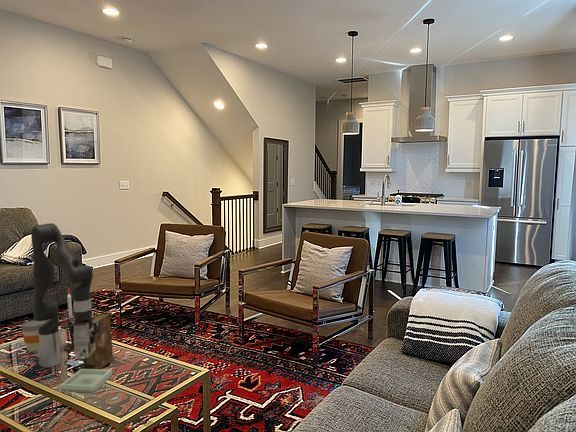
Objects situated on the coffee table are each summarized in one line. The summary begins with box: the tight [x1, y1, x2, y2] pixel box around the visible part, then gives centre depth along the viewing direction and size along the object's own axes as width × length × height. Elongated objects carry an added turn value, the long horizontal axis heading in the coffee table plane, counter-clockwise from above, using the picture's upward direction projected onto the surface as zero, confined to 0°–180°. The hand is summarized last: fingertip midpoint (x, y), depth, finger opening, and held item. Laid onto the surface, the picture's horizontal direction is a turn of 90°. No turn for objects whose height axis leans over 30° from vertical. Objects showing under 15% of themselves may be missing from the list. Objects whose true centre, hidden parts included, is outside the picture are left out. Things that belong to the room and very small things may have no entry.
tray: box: [59, 368, 113, 394], centre depth 203 cm, size 16×16×3 cm
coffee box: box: [73, 316, 96, 359], centre depth 201 cm, size 9×6×16 cm
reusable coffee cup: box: [21, 319, 48, 353], centre depth 244 cm, size 13×13×15 cm
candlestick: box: [59, 287, 75, 352], centre depth 242 cm, size 11×11×35 cm
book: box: [83, 312, 114, 370], centre depth 220 cm, size 16×6×25 cm, turn 168°
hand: (84, 343), depth 201 cm, fingers closed on coffee box, 7 cm apart
